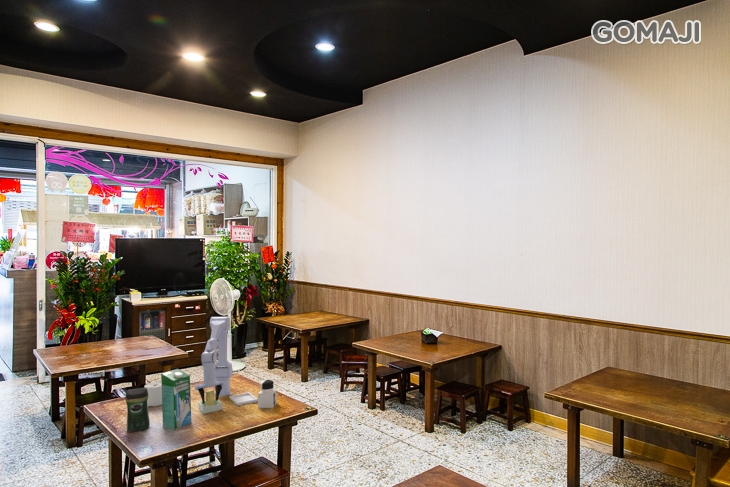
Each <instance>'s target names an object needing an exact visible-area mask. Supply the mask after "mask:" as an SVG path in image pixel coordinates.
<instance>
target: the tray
mask: <svg viewBox="0 0 730 487" xmlns="http://www.w3.org/2000/svg"><path fill="white" fill-rule="evenodd" d="M228 396H229V400H230V401H232V403H233V404H234V405H236V407H238V406H242V405H247V404H256V403H257V404H258V397H256V396H255V395H254V394H253V393H251V392H249V391H247V392H243V393H238V394H231V395H228Z"/></svg>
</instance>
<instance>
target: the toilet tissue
mask: <svg viewBox="0 0 730 487" xmlns="http://www.w3.org/2000/svg"><path fill="white" fill-rule="evenodd" d="M143 388H147V390H148V400H147V407H149V406H153V407H159V406H161V405H162V380H157V381H152V382H149V383H146V384H145V385H144V387H143Z"/></svg>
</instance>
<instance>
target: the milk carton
mask: <svg viewBox="0 0 730 487" xmlns="http://www.w3.org/2000/svg"><path fill="white" fill-rule="evenodd" d="M160 376H161V382H162V406H161V409H162V427H164V428H168V429H170V430H174V431H176V429H179V428H181V427H184V426H186V425H188V424H191V423H192V406H191V405H192V401H191V396H192V395H191V394H192V393H191V375H190V374H188V373H186V372H184V371H183V370H180V369H179V368H176V369H172V370H169V371H166V372H162V373H161V374H160Z"/></svg>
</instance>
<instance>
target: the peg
mask: <svg viewBox="0 0 730 487" xmlns="http://www.w3.org/2000/svg"><path fill="white" fill-rule="evenodd" d="M214 392H215V390H214V389H209V390H205V401H206V406H211V405H215V404H214V399H215V394H214Z"/></svg>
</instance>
